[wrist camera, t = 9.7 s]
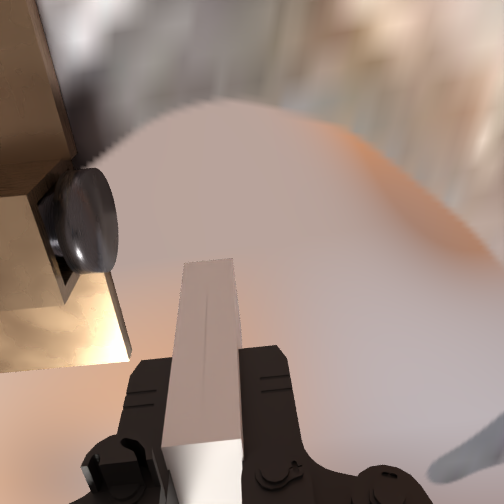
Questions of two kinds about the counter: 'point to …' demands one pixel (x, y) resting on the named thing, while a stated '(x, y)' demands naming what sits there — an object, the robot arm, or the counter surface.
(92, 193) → the pin
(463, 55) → the counter surface
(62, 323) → the brown board
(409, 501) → the robot arm
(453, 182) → the counter surface
